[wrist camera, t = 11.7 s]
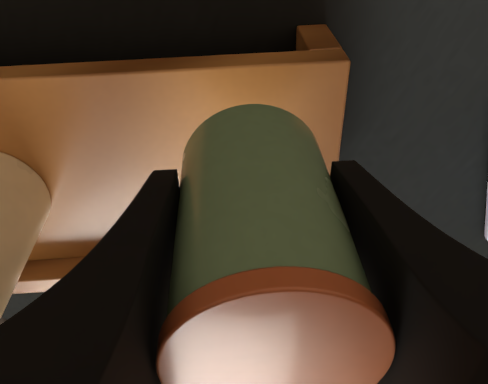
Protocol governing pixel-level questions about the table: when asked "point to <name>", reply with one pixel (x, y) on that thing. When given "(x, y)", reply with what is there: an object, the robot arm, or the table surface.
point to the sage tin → (266, 264)
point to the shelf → (146, 128)
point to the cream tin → (18, 220)
